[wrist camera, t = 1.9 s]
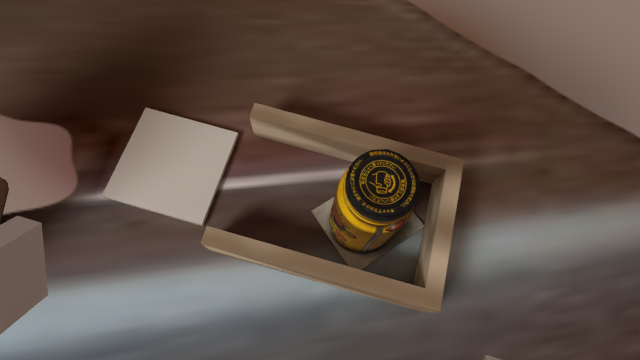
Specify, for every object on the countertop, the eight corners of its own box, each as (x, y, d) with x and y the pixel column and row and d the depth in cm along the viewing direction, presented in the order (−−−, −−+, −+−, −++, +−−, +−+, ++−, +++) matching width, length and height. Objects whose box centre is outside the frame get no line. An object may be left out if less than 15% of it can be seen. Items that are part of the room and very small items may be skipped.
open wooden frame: (258, 122, 41) (254, 102, 37) (448, 174, 40) (464, 159, 36) (210, 250, 36) (200, 242, 32) (425, 312, 35) (440, 311, 32)
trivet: (147, 110, 41) (145, 107, 40) (238, 135, 40) (237, 132, 40) (104, 197, 37) (101, 196, 37) (203, 226, 37) (201, 224, 36)
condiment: (310, 211, 38) (315, 166, 27) (380, 168, 40) (411, 109, 29) (353, 275, 36) (378, 255, 25) (423, 227, 38) (476, 188, 27)
